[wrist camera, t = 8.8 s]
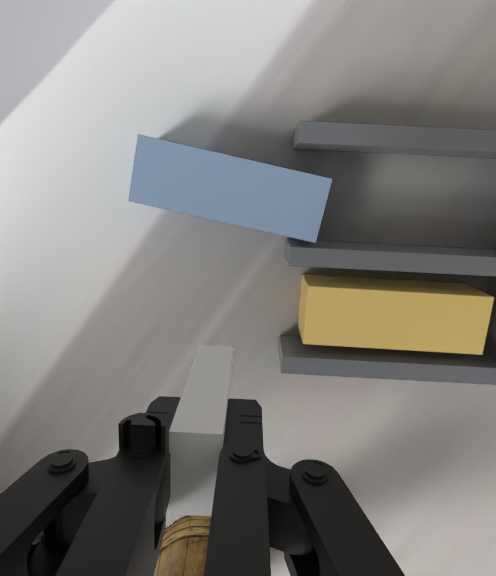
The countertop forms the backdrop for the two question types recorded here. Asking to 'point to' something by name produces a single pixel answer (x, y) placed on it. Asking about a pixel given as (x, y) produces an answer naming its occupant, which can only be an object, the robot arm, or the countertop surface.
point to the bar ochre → (393, 314)
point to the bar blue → (228, 189)
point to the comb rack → (393, 261)
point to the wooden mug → (184, 547)
